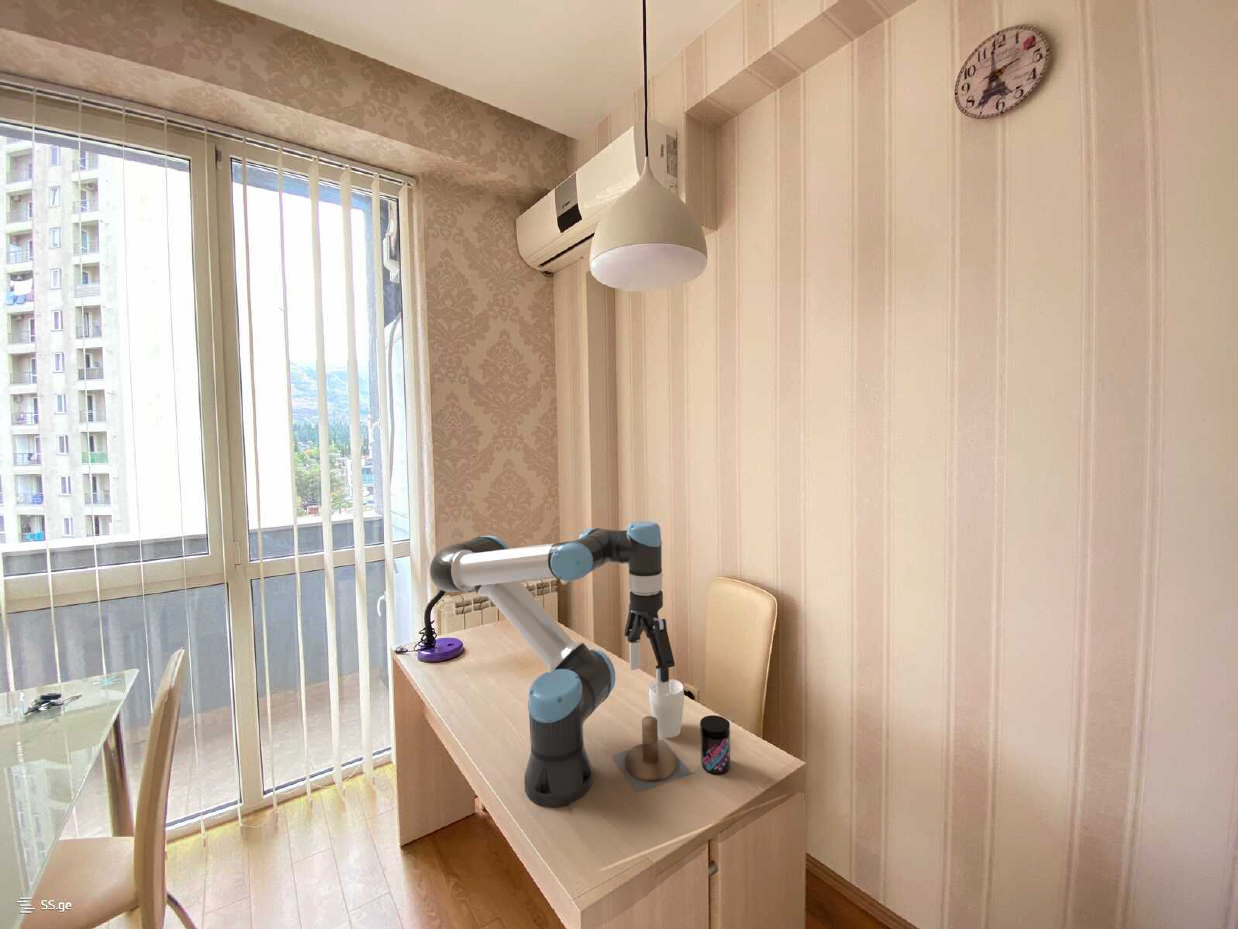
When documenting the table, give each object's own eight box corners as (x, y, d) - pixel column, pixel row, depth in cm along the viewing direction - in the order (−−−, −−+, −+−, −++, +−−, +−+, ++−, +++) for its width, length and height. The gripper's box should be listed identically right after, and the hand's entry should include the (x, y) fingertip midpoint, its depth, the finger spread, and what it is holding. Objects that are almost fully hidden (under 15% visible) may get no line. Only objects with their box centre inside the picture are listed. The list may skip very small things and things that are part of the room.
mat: (636, 794, 109) (636, 792, 109) (611, 757, 121) (611, 755, 121) (692, 775, 114) (692, 773, 114) (662, 741, 127) (662, 739, 127)
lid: (639, 788, 110) (637, 742, 109) (616, 756, 121) (615, 714, 120) (686, 772, 115) (685, 727, 114) (661, 742, 126) (660, 702, 125)
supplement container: (695, 770, 116) (694, 726, 115) (708, 754, 121) (707, 712, 121) (723, 781, 112) (722, 735, 111) (735, 764, 117) (734, 720, 117)
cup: (683, 743, 126) (682, 697, 125) (647, 740, 127) (646, 694, 127) (686, 723, 134) (685, 679, 134) (652, 720, 136) (651, 677, 135)
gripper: (689, 603, 105) (691, 702, 107) (636, 574, 128) (639, 656, 129) (657, 610, 102) (660, 711, 104) (609, 578, 125) (612, 662, 126)
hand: (648, 681), depth 117 cm, fingers open, 13 cm apart
